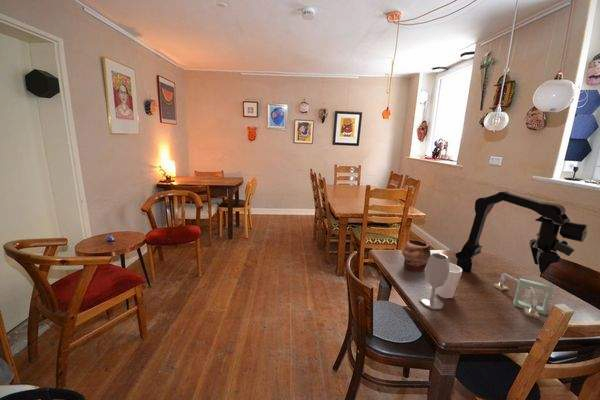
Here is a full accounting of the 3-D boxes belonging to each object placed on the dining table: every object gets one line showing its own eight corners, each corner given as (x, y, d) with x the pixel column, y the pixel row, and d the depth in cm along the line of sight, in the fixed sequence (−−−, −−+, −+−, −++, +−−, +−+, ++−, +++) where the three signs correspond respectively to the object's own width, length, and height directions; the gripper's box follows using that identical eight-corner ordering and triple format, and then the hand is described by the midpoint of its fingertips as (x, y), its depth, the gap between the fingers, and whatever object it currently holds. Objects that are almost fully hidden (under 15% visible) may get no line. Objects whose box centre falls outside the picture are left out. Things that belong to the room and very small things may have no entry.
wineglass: (433, 312, 102) (442, 262, 97) (414, 300, 109) (422, 253, 105) (447, 306, 106) (457, 258, 101) (428, 295, 113) (436, 250, 109)
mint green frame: (513, 305, 109) (520, 280, 106) (513, 302, 111) (519, 277, 109) (545, 314, 104) (553, 288, 101) (544, 311, 106) (551, 285, 104)
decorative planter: (415, 258, 150) (418, 235, 146) (436, 267, 140) (440, 242, 137) (394, 267, 138) (397, 242, 135) (415, 277, 128) (420, 250, 125)
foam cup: (454, 291, 118) (459, 264, 115) (459, 302, 109) (464, 274, 106) (431, 286, 120) (435, 260, 118) (433, 297, 112) (438, 269, 109)
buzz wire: (528, 318, 101) (540, 298, 99) (490, 284, 125) (499, 267, 123) (542, 322, 101) (554, 303, 99) (502, 287, 125) (511, 271, 122)
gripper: (583, 245, 97) (572, 283, 101) (566, 231, 113) (557, 265, 116) (544, 238, 103) (534, 275, 106) (533, 226, 118) (525, 258, 122)
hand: (538, 268), depth 112 cm, fingers open, 9 cm apart
